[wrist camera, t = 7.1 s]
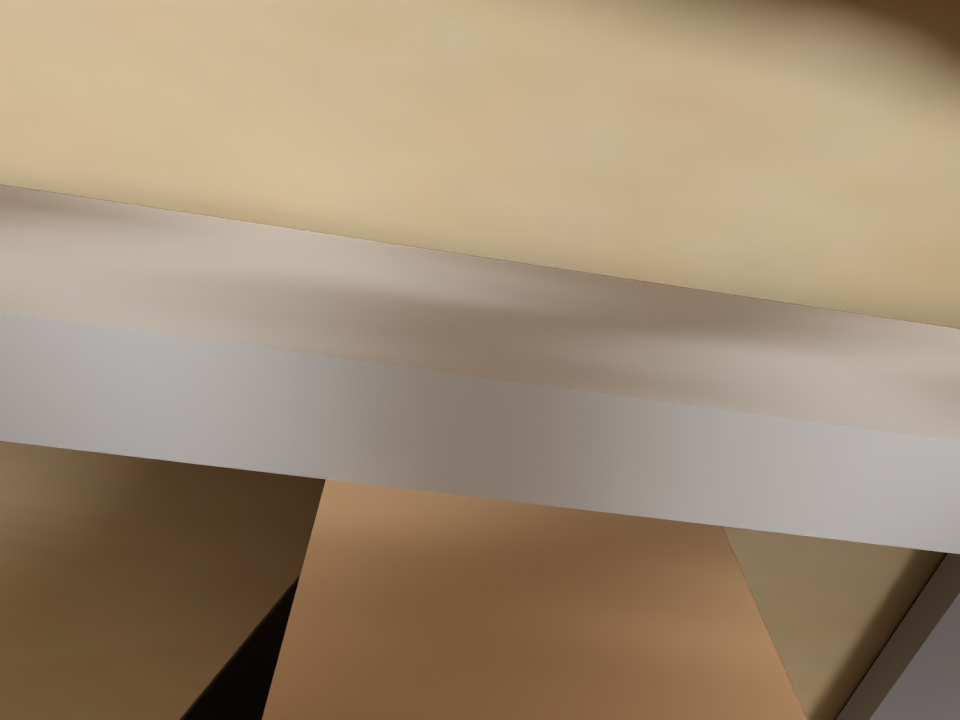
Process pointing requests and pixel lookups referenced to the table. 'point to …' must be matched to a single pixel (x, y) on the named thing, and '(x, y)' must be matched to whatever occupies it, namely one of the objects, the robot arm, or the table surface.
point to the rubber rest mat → (918, 659)
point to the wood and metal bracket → (484, 449)
